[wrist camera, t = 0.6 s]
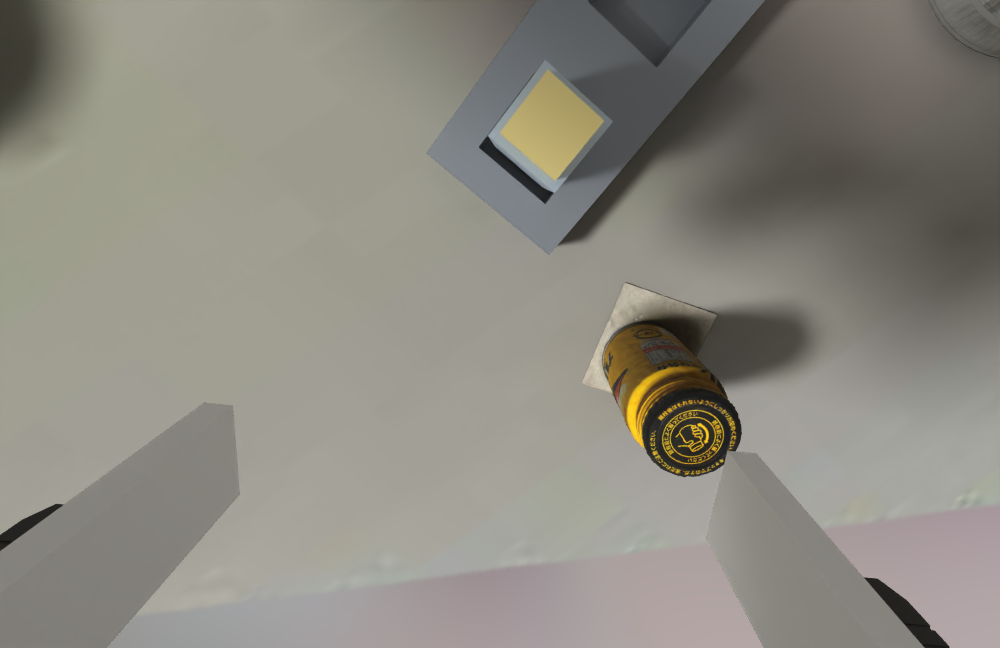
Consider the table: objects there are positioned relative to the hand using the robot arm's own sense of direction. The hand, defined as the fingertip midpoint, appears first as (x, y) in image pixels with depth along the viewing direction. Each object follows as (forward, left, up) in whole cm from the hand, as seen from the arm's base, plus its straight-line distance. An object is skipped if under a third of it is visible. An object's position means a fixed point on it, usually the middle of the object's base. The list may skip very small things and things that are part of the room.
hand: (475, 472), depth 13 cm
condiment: (+12, +3, -25) cm, 27 cm away
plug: (-4, +9, -24) cm, 26 cm away
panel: (-4, +14, -24) cm, 28 cm away
